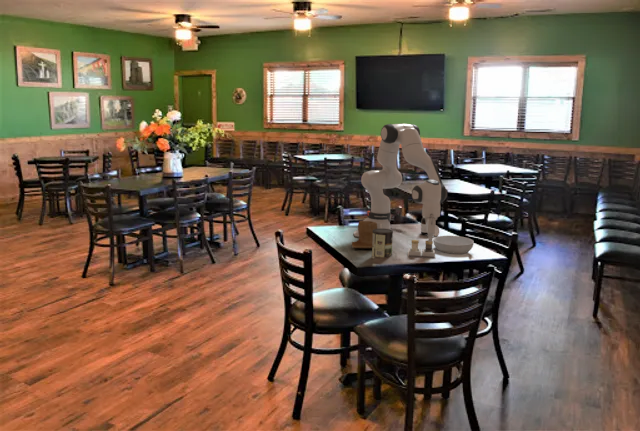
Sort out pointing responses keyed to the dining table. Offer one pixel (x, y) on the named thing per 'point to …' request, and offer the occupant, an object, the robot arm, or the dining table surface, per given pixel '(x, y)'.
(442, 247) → the serving bowl
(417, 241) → the fuse
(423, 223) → the spread jar
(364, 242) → the wooden napkin holder
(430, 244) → the fuse
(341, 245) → the dining table surface
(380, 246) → the coffee can
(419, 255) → the fuse block
